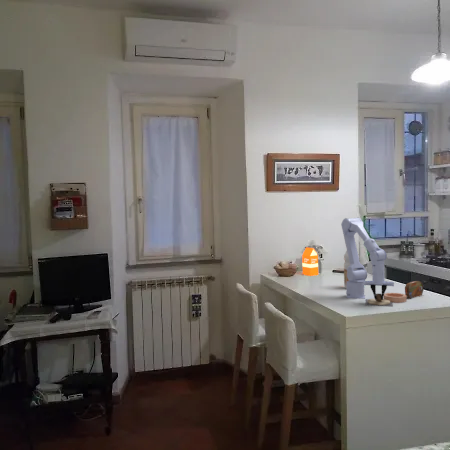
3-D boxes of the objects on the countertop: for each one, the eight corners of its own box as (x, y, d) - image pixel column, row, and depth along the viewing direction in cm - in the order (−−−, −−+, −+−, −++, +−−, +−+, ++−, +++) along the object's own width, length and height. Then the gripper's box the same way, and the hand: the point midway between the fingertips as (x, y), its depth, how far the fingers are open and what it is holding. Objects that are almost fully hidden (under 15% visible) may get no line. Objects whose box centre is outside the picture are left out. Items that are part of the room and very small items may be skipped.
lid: (367, 304, 205) (367, 296, 205) (367, 299, 215) (367, 291, 215) (390, 305, 201) (390, 297, 201) (389, 300, 211) (389, 292, 211)
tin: (409, 299, 214) (409, 284, 213) (403, 298, 216) (403, 283, 216) (424, 295, 223) (423, 280, 222) (418, 294, 225) (418, 279, 225)
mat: (365, 305, 204) (365, 305, 204) (365, 300, 217) (365, 299, 216) (392, 307, 200) (392, 306, 200) (392, 301, 212) (392, 300, 212)
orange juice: (310, 275, 294) (309, 248, 293) (302, 274, 301) (301, 247, 301) (318, 274, 298) (317, 247, 297) (310, 273, 305) (309, 246, 304)
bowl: (384, 302, 210) (383, 296, 209) (383, 297, 220) (383, 292, 220) (407, 303, 206) (407, 297, 206) (405, 298, 216) (405, 293, 216)
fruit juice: (341, 288, 248) (340, 242, 247) (351, 286, 254) (350, 241, 252) (353, 290, 241) (352, 243, 239) (363, 288, 246) (362, 242, 244)
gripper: (363, 274, 206) (363, 300, 207) (393, 275, 201) (394, 302, 202) (363, 271, 213) (364, 297, 213) (393, 272, 208) (393, 298, 208)
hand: (378, 299), depth 208 cm, fingers closed on lid, 3 cm apart
